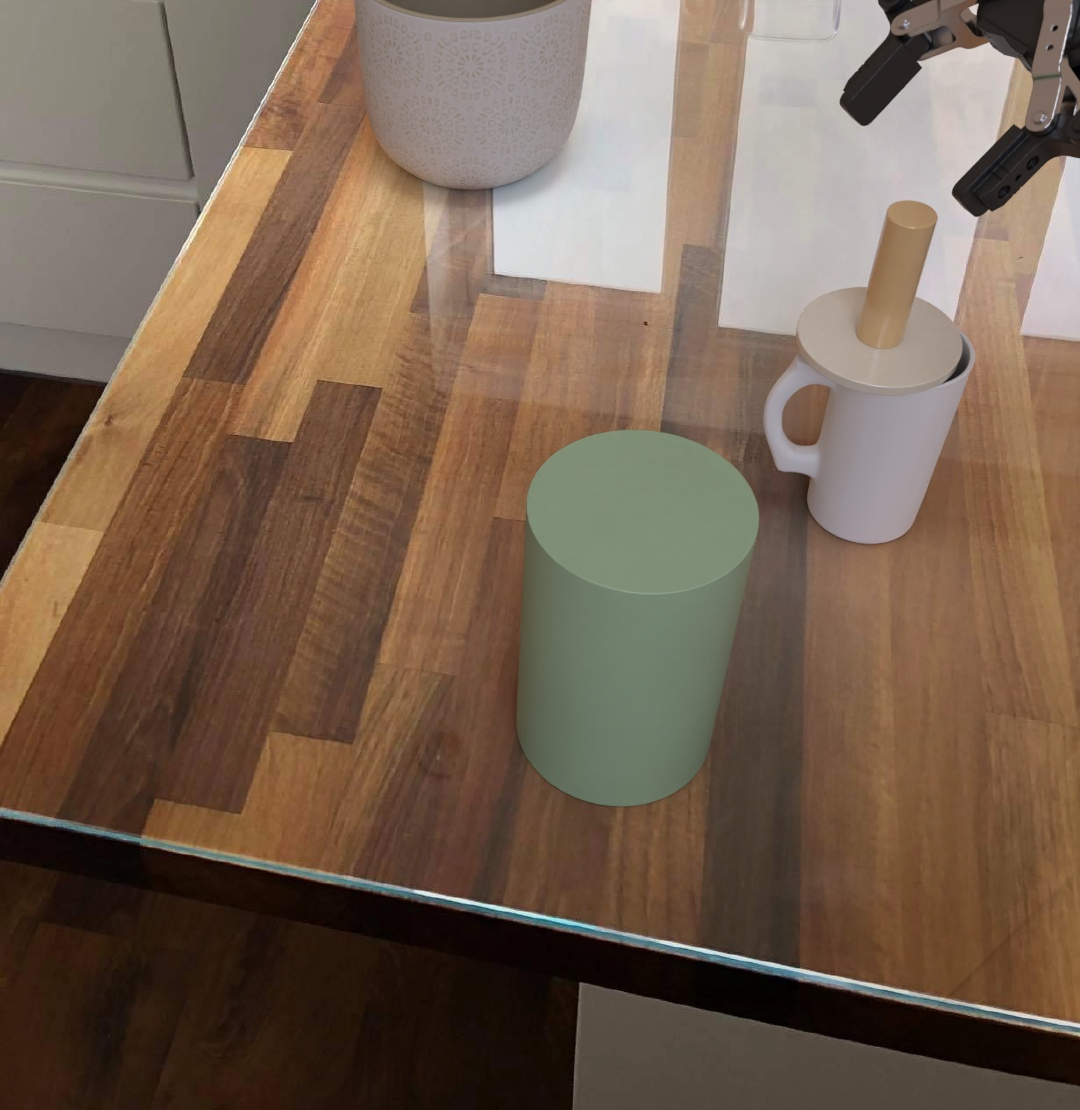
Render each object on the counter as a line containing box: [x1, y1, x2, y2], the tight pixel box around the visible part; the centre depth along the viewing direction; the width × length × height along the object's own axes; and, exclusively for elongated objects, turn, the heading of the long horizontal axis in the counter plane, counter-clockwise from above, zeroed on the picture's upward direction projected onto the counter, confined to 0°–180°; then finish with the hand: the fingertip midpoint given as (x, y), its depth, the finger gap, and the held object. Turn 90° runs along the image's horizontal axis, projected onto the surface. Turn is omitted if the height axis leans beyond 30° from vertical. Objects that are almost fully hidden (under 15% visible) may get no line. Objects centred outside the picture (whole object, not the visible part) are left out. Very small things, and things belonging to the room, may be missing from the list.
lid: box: [795, 199, 963, 395], centre depth 71 cm, size 8×8×8 cm
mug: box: [762, 326, 976, 545], centre depth 78 cm, size 10×7×12 cm, turn 82°
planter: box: [353, 0, 593, 191], centre depth 104 cm, size 17×17×15 cm
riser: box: [515, 429, 760, 807], centre depth 66 cm, size 10×10×16 cm
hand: (904, 159), depth 65 cm, fingers open, 8 cm apart
